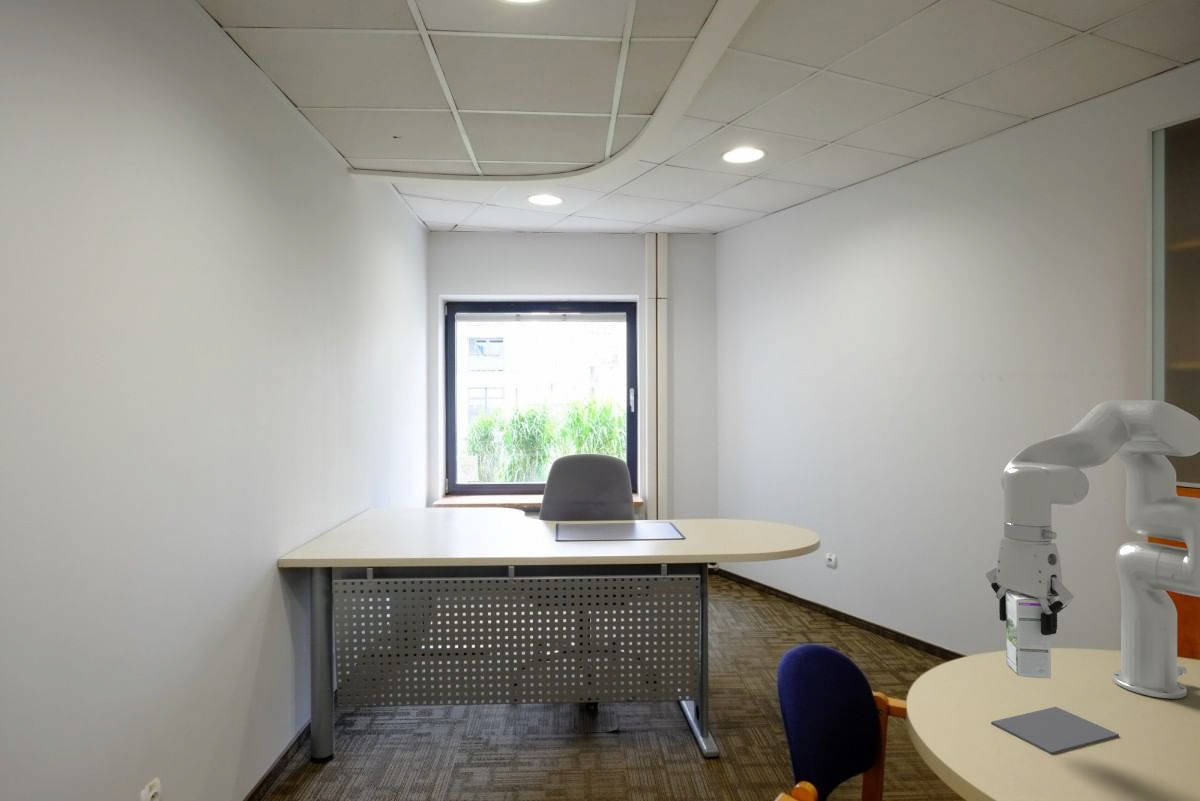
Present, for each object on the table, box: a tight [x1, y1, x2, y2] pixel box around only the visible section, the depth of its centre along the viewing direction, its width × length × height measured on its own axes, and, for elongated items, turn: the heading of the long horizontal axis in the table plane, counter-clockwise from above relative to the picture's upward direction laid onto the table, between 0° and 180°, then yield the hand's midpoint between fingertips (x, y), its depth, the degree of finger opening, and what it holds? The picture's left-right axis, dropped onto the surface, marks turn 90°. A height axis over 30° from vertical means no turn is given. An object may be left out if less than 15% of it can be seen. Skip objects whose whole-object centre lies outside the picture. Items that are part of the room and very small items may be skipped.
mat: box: [990, 706, 1120, 755], centre depth 128 cm, size 18×12×1 cm, turn 110°
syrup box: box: [1005, 591, 1052, 680], centre depth 125 cm, size 6×6×14 cm
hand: (1027, 626), depth 125 cm, fingers closed on syrup box, 7 cm apart
